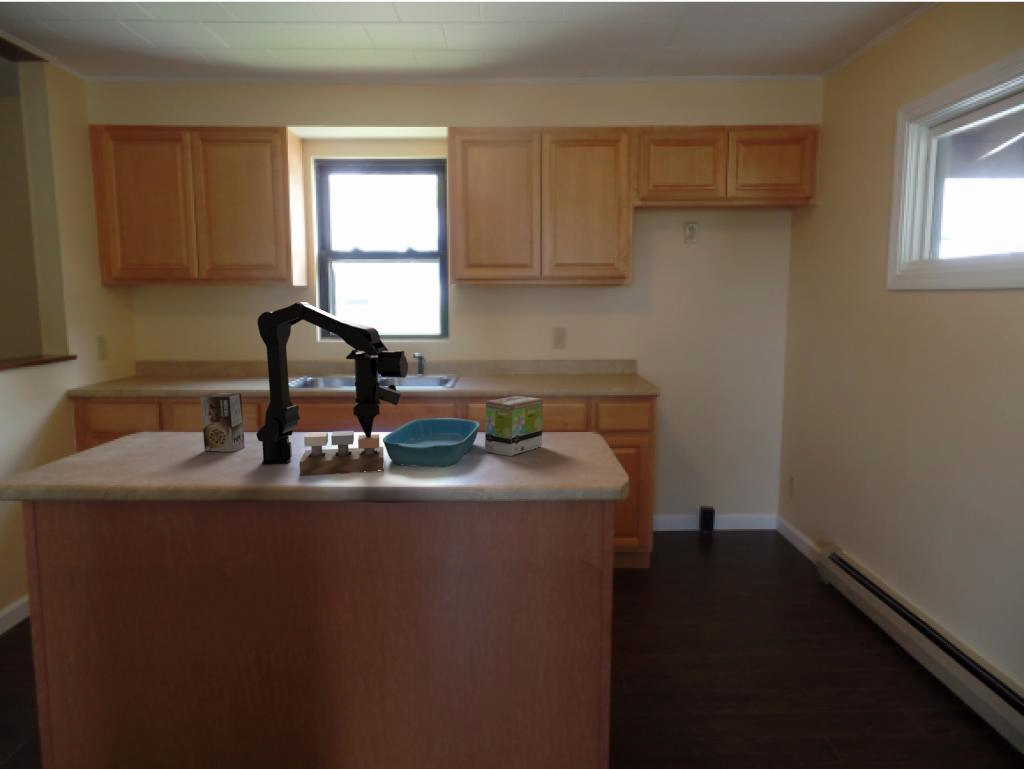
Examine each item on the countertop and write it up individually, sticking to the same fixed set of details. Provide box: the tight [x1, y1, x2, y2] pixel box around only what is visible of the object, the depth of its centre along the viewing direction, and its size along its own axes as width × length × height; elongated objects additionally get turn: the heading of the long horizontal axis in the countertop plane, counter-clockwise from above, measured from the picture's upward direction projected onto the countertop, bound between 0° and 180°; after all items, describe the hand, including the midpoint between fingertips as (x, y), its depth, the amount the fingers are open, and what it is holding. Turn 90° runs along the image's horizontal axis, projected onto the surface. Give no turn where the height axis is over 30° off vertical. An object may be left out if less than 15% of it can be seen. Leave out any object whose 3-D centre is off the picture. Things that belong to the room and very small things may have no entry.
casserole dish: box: [382, 417, 480, 467], centre depth 172 cm, size 37×22×7 cm, turn 171°
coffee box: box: [199, 392, 246, 453], centre depth 176 cm, size 9×6×16 cm
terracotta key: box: [357, 434, 380, 455], centre depth 159 cm, size 5×5×6 cm
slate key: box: [330, 430, 355, 456], centre depth 157 cm, size 5×5×6 cm
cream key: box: [303, 431, 329, 457], centre depth 156 cm, size 5×5×6 cm
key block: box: [299, 446, 384, 476], centre depth 158 cm, size 20×12×4 cm, turn 102°
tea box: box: [484, 395, 544, 457], centre depth 176 cm, size 15×10×15 cm, turn 143°
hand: (368, 436), depth 158 cm, fingers closed, pressing on terracotta key
